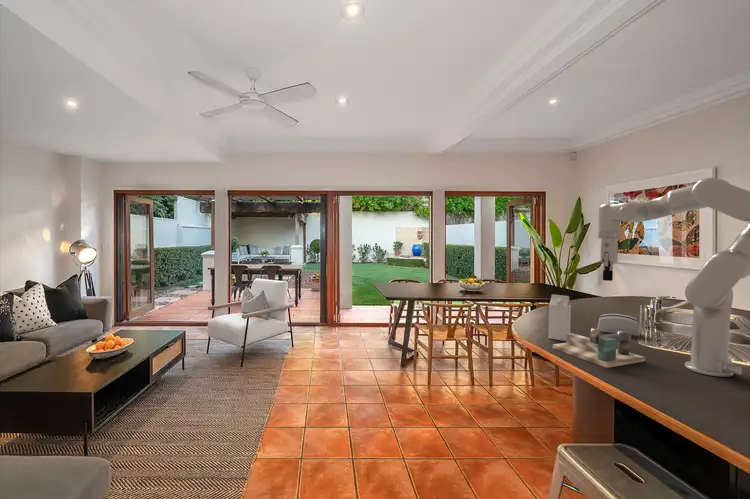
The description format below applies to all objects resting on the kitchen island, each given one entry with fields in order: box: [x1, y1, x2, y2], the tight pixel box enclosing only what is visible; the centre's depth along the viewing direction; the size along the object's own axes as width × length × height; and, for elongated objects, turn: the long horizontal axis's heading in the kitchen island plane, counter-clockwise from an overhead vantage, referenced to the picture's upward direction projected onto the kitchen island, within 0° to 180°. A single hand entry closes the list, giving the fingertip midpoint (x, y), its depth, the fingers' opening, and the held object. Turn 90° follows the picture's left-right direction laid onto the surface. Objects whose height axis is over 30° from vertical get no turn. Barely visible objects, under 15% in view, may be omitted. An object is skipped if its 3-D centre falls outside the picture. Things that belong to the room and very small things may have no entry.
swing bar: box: [589, 327, 632, 344], centre depth 143 cm, size 18×4×6 cm, turn 112°
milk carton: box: [548, 293, 572, 342], centre depth 171 cm, size 7×7×19 cm
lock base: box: [552, 332, 646, 369], centre depth 149 cm, size 24×19×9 cm
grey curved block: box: [596, 313, 641, 337], centre depth 181 cm, size 17×5×10 cm, turn 59°
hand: (607, 280), depth 158 cm, fingers closed
